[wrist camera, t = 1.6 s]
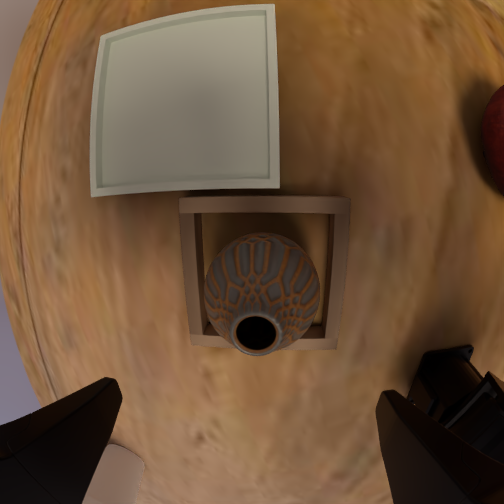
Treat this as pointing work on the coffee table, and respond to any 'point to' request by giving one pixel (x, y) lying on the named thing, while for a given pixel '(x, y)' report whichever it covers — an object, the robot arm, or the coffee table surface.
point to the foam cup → (115, 477)
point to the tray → (187, 103)
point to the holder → (265, 203)
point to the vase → (261, 293)
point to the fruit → (494, 137)
